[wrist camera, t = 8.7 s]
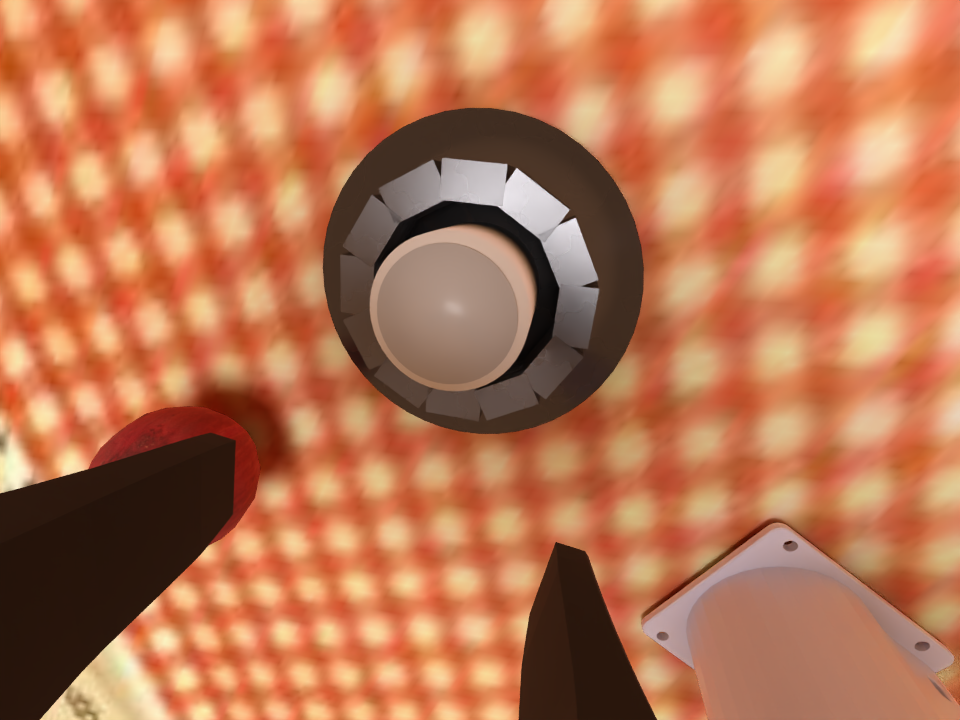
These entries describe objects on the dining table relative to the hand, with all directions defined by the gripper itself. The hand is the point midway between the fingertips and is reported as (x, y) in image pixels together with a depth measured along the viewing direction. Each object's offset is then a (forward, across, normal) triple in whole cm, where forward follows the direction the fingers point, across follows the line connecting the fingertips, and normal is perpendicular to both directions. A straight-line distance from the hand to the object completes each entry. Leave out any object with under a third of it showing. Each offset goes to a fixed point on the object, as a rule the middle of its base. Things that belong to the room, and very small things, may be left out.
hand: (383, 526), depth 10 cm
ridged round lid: (+10, +1, -3) cm, 10 cm away
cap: (+9, 0, -4) cm, 10 cm away
